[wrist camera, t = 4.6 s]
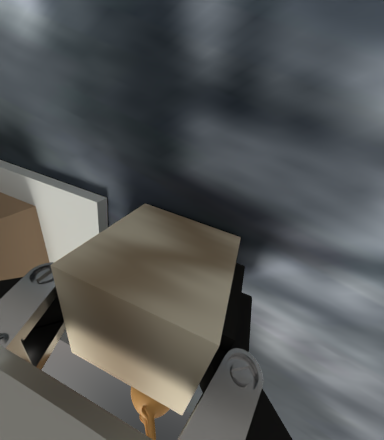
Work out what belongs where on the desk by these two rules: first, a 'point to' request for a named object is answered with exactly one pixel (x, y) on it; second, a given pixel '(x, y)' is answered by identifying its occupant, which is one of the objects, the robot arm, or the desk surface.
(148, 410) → the figurine
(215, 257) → the maple block
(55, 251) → the build board
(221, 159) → the desk surface
